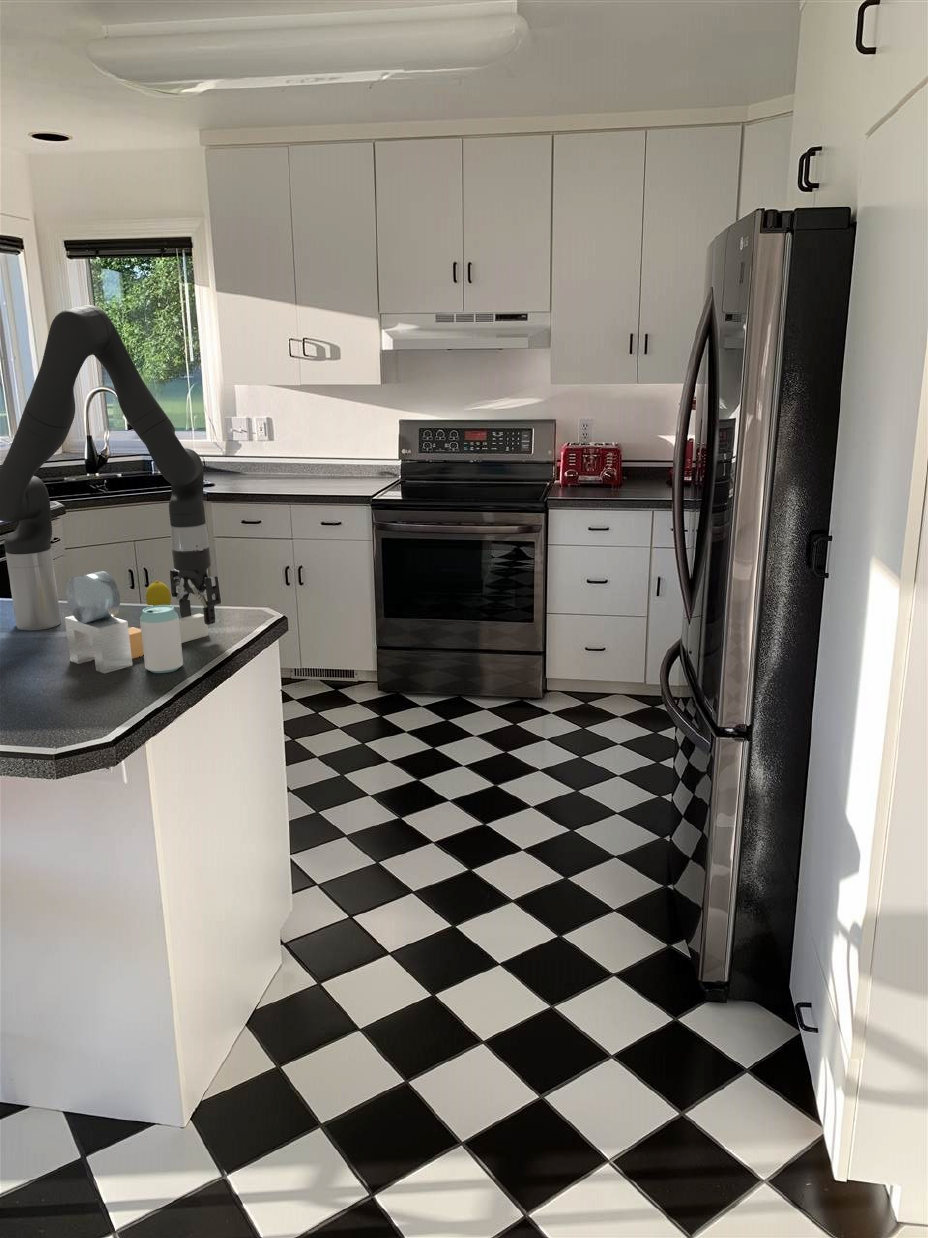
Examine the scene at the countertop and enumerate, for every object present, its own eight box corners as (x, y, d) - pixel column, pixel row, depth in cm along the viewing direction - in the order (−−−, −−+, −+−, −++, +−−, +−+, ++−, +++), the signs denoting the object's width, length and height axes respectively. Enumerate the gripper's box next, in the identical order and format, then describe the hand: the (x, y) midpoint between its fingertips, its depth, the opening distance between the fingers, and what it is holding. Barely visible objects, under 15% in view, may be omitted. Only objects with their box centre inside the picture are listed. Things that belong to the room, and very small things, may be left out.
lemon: (165, 617, 222) (161, 584, 219) (143, 616, 223) (139, 583, 220) (176, 611, 227) (173, 578, 225) (155, 610, 228) (151, 577, 226)
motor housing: (70, 661, 192) (58, 572, 187) (98, 653, 197) (87, 567, 192) (104, 673, 185) (93, 582, 180) (132, 665, 189) (122, 575, 184)
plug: (117, 655, 196) (115, 631, 194) (198, 632, 210) (196, 610, 209) (130, 659, 193) (127, 635, 192) (211, 636, 207) (209, 613, 206)
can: (169, 675, 183) (162, 614, 179) (137, 672, 185) (130, 612, 182) (190, 664, 189) (184, 605, 186) (160, 661, 191) (153, 602, 188)
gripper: (155, 545, 203) (163, 619, 208) (195, 552, 195) (203, 630, 199) (185, 539, 209) (193, 611, 213) (226, 546, 200) (233, 621, 205)
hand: (198, 620), depth 206 cm, fingers open, 8 cm apart
